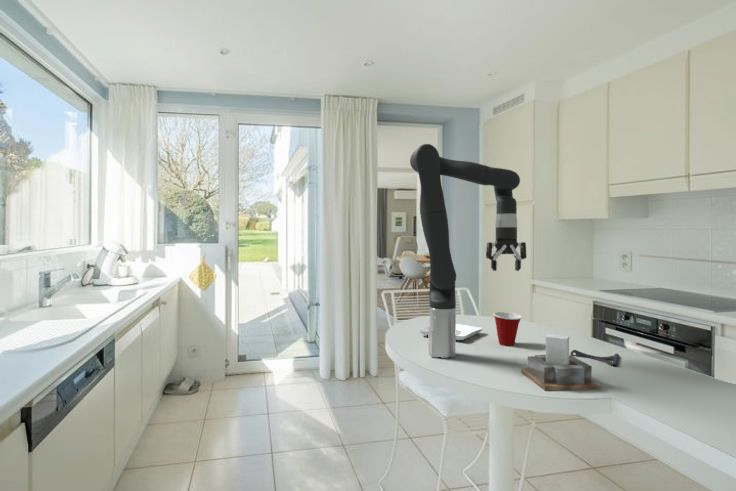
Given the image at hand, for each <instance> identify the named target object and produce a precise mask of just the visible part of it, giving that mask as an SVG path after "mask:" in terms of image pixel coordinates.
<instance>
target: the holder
mask: <svg viewBox="0 0 736 491" xmlns="http://www.w3.org/2000/svg"><path fill="white" fill-rule="evenodd" d="M526 366H527V368H522V367H521V368H520V373H521V374H522V375H523V376H525V377H527V378H528V379H529V380H530V381H531V382H533V383H534V384H535V385H537V386H538V387H540V388H541V389H542V390H543V391H572V390H573V391H574V390H575V391H577V390H601V384H600V383H598V382H596V381H594V380H592V378H593V376H592V375H593V374H592V370H593V369H592V365H590V364H588V363H586V362H585V361H582V360H581V359H579V358H578V357H576V356H571V355H569V365H555V366H552V365H550V364H549V363H547V362H546V354H534V356H533V355H531V356H529V355H528V356H527V364H526Z"/></svg>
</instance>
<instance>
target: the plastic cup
mask: <svg viewBox="0 0 736 491" xmlns="http://www.w3.org/2000/svg"><path fill="white" fill-rule="evenodd" d="M492 314H493V317H494V320H495V321H494V323H495V327H496V333H497V334H496V335H497V340H498V343H499V345H500V346H505V347H512V346H514V345H515V344H516V338H517V333H518V329H519V325H520V322H521V319H522V318H523V317H522V315H520V314H518V313H514V312H508V311H495V312H493V313H492Z"/></svg>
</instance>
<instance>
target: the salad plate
mask: <svg viewBox="0 0 736 491" xmlns="http://www.w3.org/2000/svg"><path fill="white" fill-rule="evenodd" d="M428 327H430V325H427V326H425V327H422V328H420V329H419V330H418V331H419V333H420V334H422V335H425V336H427V335H428ZM483 329H484V327H481V326H480V327H478V326H473V325H467V324H462V323H461V324H460V323H456V330H458V331H461V334H459V335H456V340H462V341H465V340H467V339H469V338H471V337H474V336H475V335H477V334H479V333H481V332H482V331H483ZM466 338H467V339H466ZM464 339H465V340H464Z"/></svg>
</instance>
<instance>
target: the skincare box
mask: <svg viewBox="0 0 736 491" xmlns="http://www.w3.org/2000/svg"><path fill="white" fill-rule="evenodd" d="M545 355H546V362H547V363H549V364H550V365H552V366H555V365H569V356H570V335H562V334H561V335H559V334H553V333H548V334H547V335H546V336H545Z"/></svg>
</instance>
